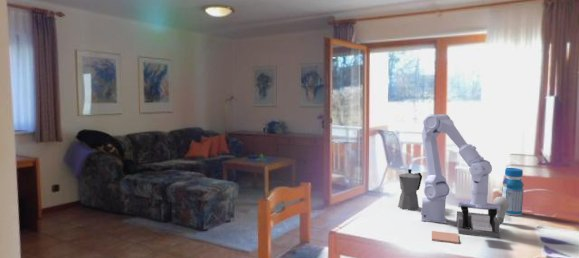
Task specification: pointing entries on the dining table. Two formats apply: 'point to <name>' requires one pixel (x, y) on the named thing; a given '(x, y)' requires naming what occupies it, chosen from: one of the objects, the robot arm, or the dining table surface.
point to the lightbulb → (501, 207)
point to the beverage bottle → (513, 190)
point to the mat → (445, 237)
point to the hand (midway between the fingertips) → (477, 227)
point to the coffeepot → (409, 190)
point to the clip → (481, 222)
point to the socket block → (461, 230)
